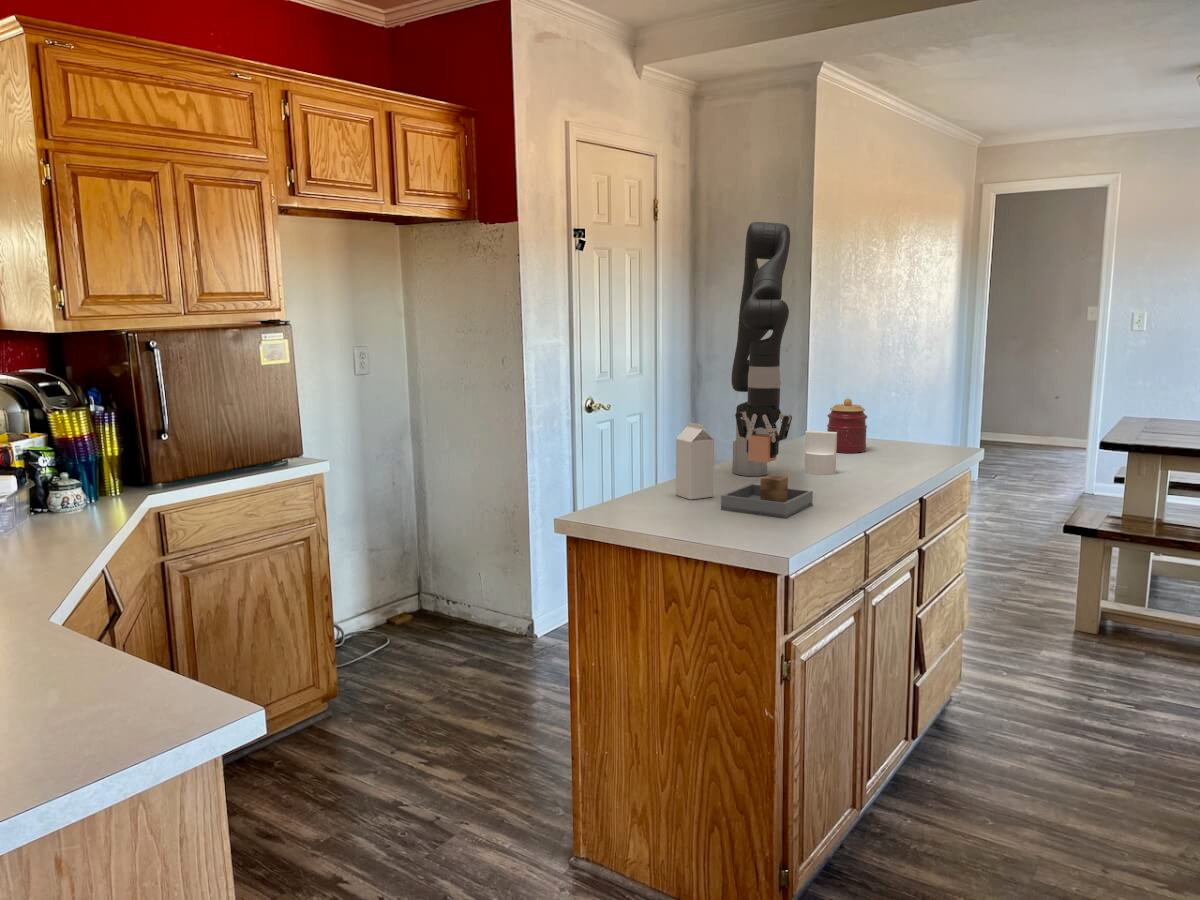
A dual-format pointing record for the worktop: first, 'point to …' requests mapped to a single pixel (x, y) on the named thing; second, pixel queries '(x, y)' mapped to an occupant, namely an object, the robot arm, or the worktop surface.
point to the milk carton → (694, 463)
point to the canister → (848, 427)
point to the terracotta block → (759, 448)
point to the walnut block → (774, 488)
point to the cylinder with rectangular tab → (820, 452)
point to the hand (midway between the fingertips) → (762, 456)
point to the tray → (765, 502)
